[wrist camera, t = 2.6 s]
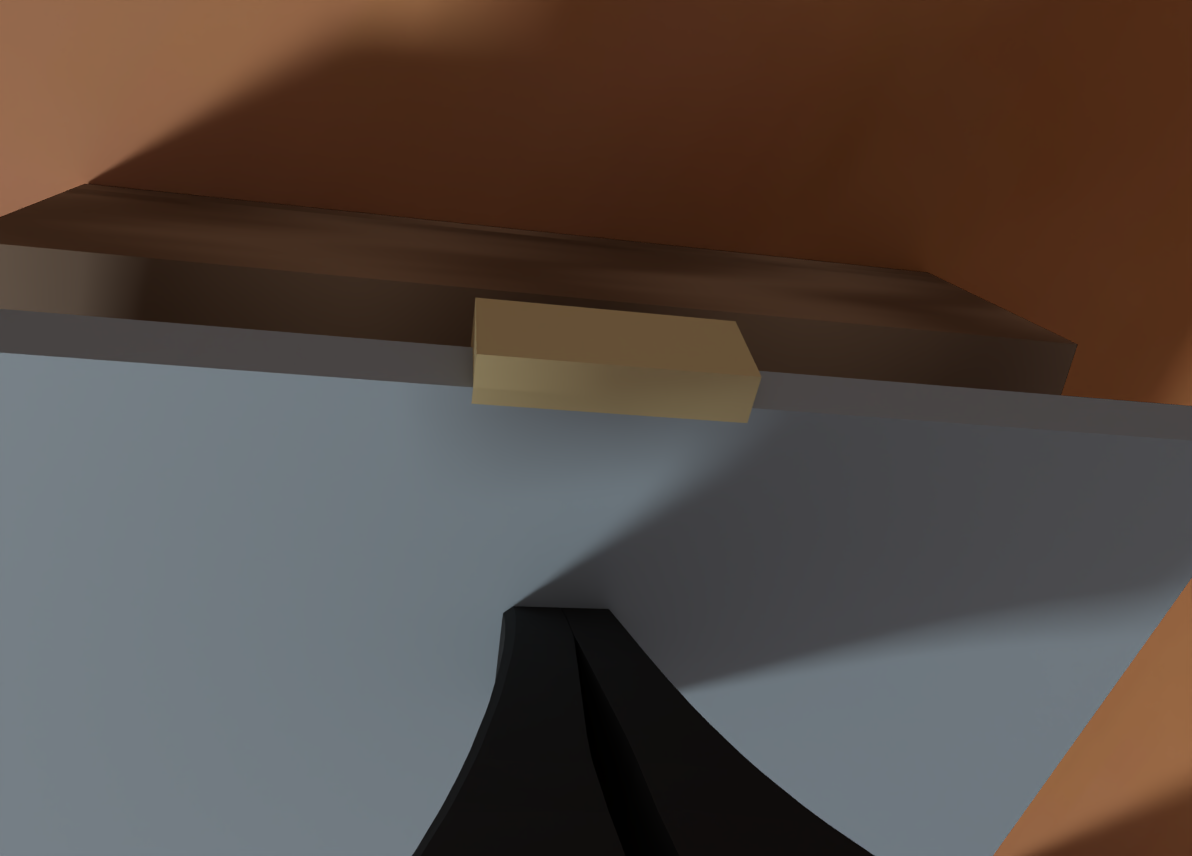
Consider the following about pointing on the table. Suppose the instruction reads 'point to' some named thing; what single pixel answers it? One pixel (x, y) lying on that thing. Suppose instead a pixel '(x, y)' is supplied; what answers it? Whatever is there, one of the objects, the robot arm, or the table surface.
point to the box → (495, 285)
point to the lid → (544, 571)
